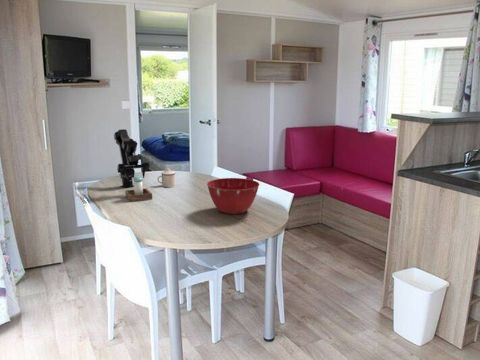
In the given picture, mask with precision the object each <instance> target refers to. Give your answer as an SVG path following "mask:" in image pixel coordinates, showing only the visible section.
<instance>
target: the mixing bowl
mask: <svg viewBox="0 0 480 360" xmlns="http://www.w3.org/2000/svg"><path fill="white" fill-rule="evenodd" d="M206 185H207V189H208V192H209V195H210V199H211V200H212V203H213V204H214V206H215V207H216V209H217V210H219V211H220V212H221V213H224V214H228V215H239V214H242V213H245V212H247V210H249V209H250V208H251V206H252V205H253V203H254V202H255V199H256V197H257V193H258V189H259V186H260V183H259V182H258V181H256V180H253V179H248V178H240V177H226V178H225V177H223V178H222V177H221V178H216V179H212V180H209V181H207V183H206Z"/></svg>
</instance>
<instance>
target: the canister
mask: <svg viewBox="0 0 480 360" xmlns="http://www.w3.org/2000/svg"><path fill="white" fill-rule="evenodd" d="M133 185H134V186H133V190H134V194H135V195H139V194H143V189H144V188H143V176H142V177H141V176H140V177H139V176H137V177H135V176H134V178H133Z"/></svg>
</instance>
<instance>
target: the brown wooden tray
mask: <svg viewBox="0 0 480 360" xmlns="http://www.w3.org/2000/svg"><path fill="white" fill-rule="evenodd" d="M124 193H125V197H126V199H127V200H128V201H129V202H130V203H133V202H140V201H149V200H153V193H152V191H150V190H149V189H148V188H143V194H139V195H135V194H134V189H128V190H124Z"/></svg>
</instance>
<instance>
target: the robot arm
mask: <svg viewBox="0 0 480 360" xmlns="http://www.w3.org/2000/svg"><path fill="white" fill-rule="evenodd" d="M113 138H114V140H115V144H117V145H118V148H119V154H120V159H121V163H118V164H117V173H119V178H120V179H121V182H122V183H121V184H122V185H120V187H121V188H126V189H129V188H132V187H133V188H134V180H133V179H134V178H135V173H136V171H135V169H141V174H142V175H141V176H142V179H145V176H146V172H147V171H149V170H150V169H149V168H150V162H148V161H142V163H141V164H139V163H140V162H139V161H141V160H142V158H143V157H142V154H141V153H138V154H137V153H136V151H137V147H138V142H137V141H135V140H134V138H130V136H129V134H128V130H127V129H126V128H125V129H118V130H117V131H115V133H114V134H113Z"/></svg>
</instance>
